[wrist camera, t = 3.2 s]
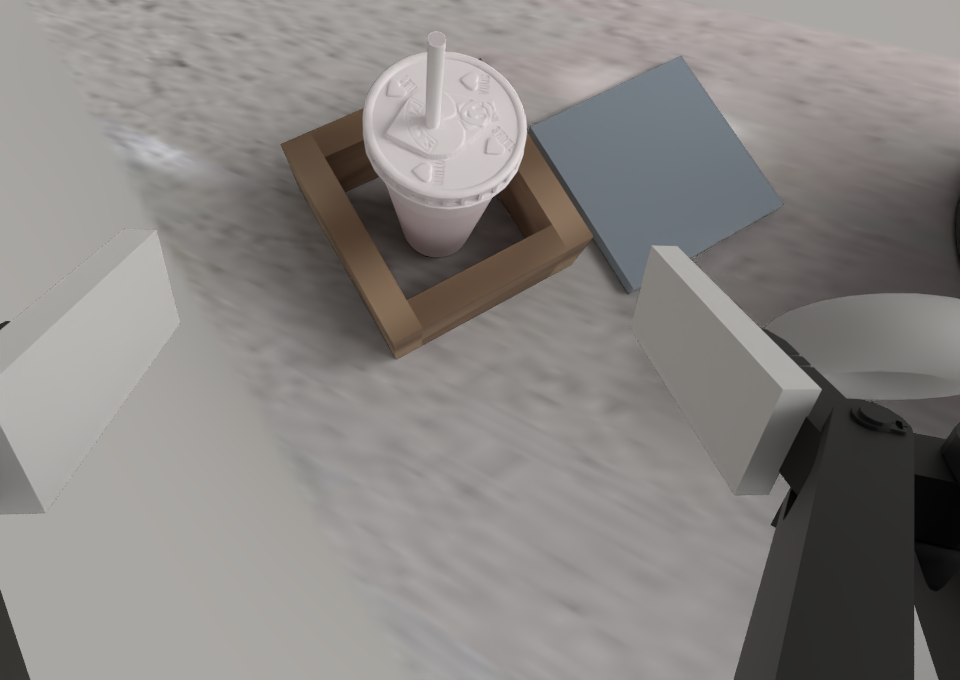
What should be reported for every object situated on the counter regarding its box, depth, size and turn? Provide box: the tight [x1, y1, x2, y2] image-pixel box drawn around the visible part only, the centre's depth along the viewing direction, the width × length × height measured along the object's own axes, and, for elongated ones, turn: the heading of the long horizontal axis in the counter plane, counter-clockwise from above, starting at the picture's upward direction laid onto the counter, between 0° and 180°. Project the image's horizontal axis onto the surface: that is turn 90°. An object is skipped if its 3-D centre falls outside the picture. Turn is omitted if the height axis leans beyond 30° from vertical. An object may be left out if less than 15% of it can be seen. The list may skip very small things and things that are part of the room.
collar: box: [281, 58, 594, 359], centre depth 28 cm, size 11×11×4 cm
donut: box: [765, 293, 960, 400], centre depth 26 cm, size 10×4×10 cm, turn 83°
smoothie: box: [363, 31, 527, 257], centre depth 23 cm, size 6×6×14 cm
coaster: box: [528, 56, 784, 294], centre depth 32 cm, size 11×11×1 cm
